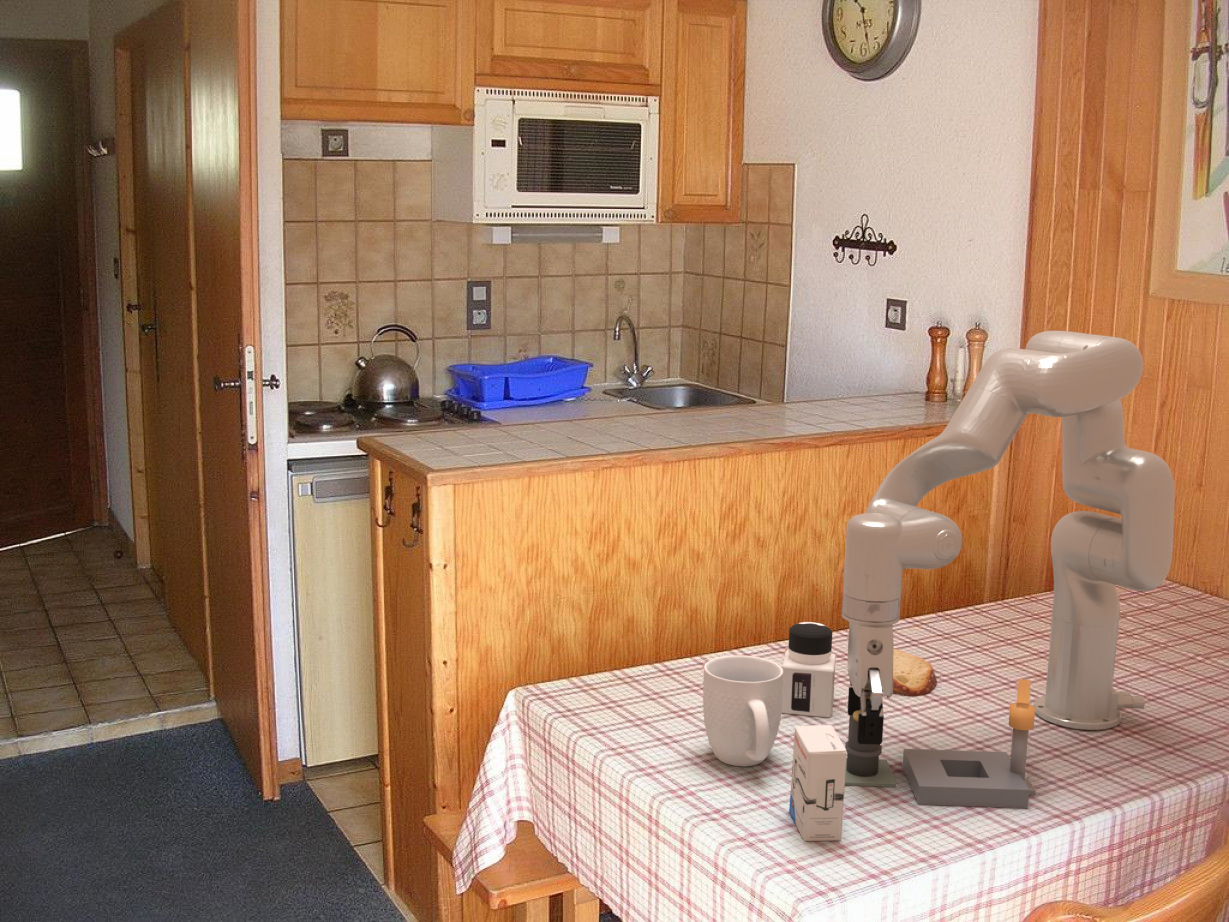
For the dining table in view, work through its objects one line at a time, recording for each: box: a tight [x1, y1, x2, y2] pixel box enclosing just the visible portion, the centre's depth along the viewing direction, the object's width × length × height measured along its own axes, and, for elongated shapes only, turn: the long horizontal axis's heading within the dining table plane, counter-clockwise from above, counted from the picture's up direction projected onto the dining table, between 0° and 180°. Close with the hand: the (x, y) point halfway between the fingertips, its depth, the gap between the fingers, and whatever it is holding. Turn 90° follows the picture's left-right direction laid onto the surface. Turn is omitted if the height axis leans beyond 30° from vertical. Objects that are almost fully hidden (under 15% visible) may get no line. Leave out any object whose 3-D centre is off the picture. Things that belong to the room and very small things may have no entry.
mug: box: [702, 654, 783, 767], centre depth 180 cm, size 15×11×13 cm
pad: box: [845, 757, 897, 788], centre depth 179 cm, size 8×8×1 cm
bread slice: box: [893, 648, 938, 698], centre depth 218 cm, size 18×18×4 cm
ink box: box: [788, 724, 847, 842], centre depth 162 cm, size 9×5×12 cm, turn 5°
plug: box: [844, 710, 883, 777], centre depth 178 cm, size 5×5×8 cm
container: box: [781, 621, 837, 718], centre depth 201 cm, size 8×8×13 cm
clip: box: [1008, 678, 1036, 731], centre depth 177 cm, size 13×3×3 cm, turn 162°
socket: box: [902, 728, 1037, 809], centre depth 174 cm, size 16×12×8 cm
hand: (864, 729), depth 178 cm, fingers open, 9 cm apart
